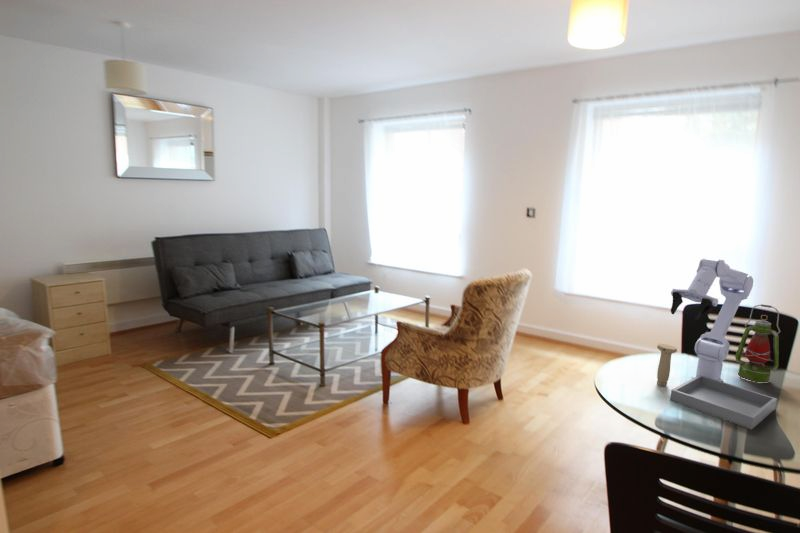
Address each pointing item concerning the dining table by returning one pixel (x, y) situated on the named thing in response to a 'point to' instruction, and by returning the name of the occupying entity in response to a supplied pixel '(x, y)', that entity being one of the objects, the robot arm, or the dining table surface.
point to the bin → (724, 401)
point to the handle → (664, 363)
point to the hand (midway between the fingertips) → (683, 315)
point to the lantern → (758, 350)
